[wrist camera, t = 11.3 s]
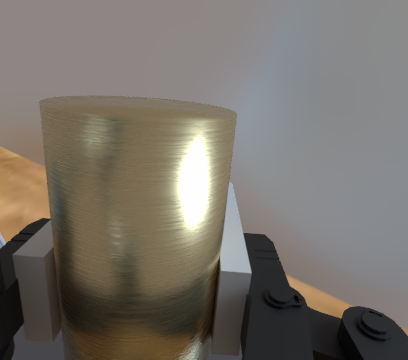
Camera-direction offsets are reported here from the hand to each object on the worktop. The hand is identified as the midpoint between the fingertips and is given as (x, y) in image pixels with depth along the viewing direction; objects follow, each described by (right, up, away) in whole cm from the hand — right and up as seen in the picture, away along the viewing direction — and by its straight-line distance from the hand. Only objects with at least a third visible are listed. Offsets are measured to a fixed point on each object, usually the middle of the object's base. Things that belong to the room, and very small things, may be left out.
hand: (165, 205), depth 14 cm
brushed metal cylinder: (-1, -8, -3) cm, 9 cm away
